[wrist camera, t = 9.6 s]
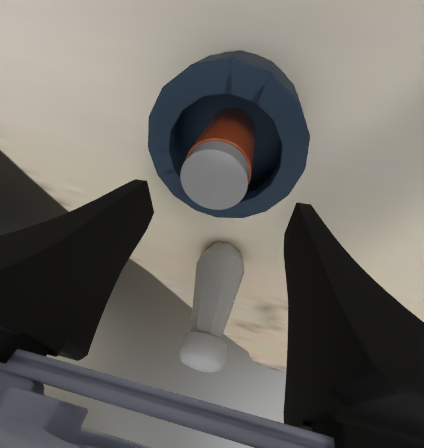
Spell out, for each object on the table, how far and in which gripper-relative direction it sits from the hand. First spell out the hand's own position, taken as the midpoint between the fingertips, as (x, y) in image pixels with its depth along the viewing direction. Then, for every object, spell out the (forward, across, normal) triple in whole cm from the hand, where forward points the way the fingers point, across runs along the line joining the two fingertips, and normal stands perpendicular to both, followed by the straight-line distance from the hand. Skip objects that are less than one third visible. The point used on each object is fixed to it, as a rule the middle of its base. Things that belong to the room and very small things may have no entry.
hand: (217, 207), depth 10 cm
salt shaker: (+10, 0, +15) cm, 18 cm away
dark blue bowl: (+9, +1, 0) cm, 9 cm away
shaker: (+9, +1, 0) cm, 9 cm away
